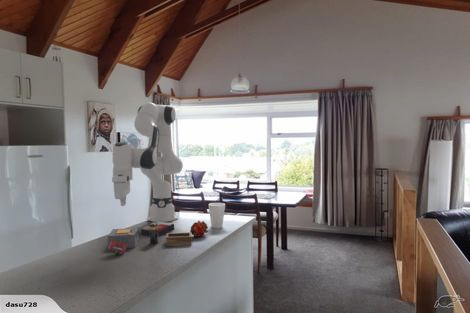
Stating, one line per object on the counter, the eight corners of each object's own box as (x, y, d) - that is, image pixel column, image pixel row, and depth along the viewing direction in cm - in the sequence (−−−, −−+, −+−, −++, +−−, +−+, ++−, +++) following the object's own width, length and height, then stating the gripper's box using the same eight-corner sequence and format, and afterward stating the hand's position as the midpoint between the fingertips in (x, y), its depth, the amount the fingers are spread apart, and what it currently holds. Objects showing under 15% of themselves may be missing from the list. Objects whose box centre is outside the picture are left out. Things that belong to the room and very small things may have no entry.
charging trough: (166, 241, 169) (166, 233, 169) (191, 240, 171) (191, 232, 170) (165, 246, 161) (165, 237, 161) (191, 244, 163) (191, 236, 163)
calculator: (140, 228, 181) (157, 220, 195) (141, 236, 182) (158, 227, 195) (157, 230, 177) (174, 222, 190) (158, 238, 177) (174, 230, 191)
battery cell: (149, 241, 168) (149, 222, 168) (158, 241, 169) (158, 221, 168) (149, 244, 164) (148, 224, 163) (157, 244, 165) (157, 223, 164)
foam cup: (206, 225, 199) (206, 203, 198) (221, 224, 203) (221, 202, 202) (212, 229, 190) (212, 206, 190) (227, 227, 194) (227, 205, 194)
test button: (118, 235, 167) (118, 229, 166) (131, 235, 168) (131, 229, 167) (115, 239, 161) (115, 232, 161) (129, 238, 162) (129, 232, 161)
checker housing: (113, 241, 169) (113, 228, 169) (138, 240, 171) (138, 227, 171) (108, 248, 158) (107, 235, 157) (135, 247, 159) (134, 233, 159)
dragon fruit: (206, 236, 183) (194, 245, 173) (194, 225, 185) (182, 234, 175) (214, 225, 180) (202, 234, 169) (201, 214, 182) (189, 223, 171)
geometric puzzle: (130, 245, 155) (119, 232, 153) (130, 250, 149) (118, 236, 147) (117, 256, 154) (105, 243, 152) (117, 261, 147) (104, 248, 145)
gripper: (120, 174, 172) (120, 201, 173) (111, 179, 152) (111, 209, 153) (133, 173, 173) (133, 201, 174) (125, 178, 153) (126, 209, 154)
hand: (123, 205), depth 163 cm, fingers closed
